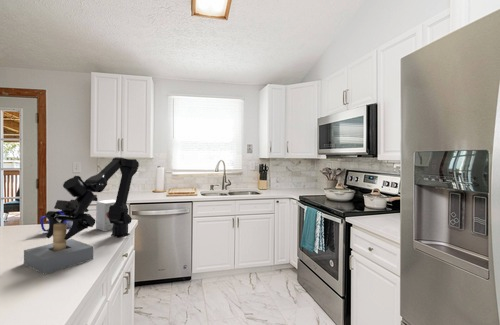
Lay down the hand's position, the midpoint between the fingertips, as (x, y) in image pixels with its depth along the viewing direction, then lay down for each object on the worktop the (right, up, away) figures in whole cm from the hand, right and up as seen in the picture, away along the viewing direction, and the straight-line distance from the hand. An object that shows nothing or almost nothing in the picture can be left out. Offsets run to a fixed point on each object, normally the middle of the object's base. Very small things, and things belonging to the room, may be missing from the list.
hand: (56, 238), depth 97 cm
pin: (0, -8, +2) cm, 8 cm away
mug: (-28, -8, +36) cm, 47 cm away
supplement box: (-6, -8, +47) cm, 48 cm away
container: (-28, -7, +50) cm, 58 cm away
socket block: (0, -9, +2) cm, 9 cm away
